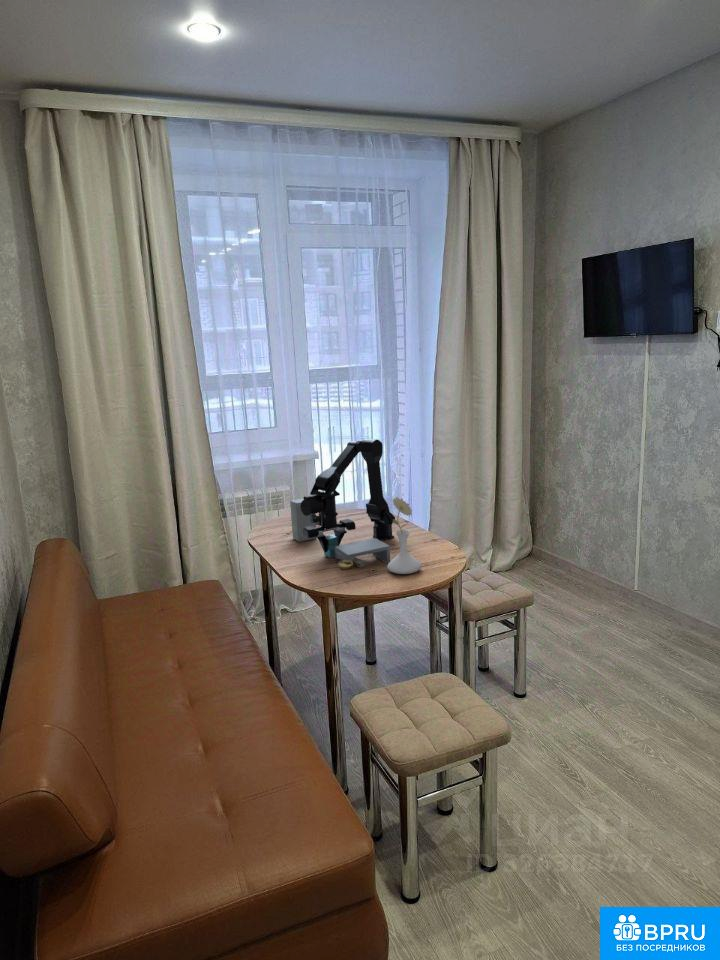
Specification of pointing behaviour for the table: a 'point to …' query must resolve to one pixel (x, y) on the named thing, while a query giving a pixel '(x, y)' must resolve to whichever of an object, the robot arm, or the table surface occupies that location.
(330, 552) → the blade tool
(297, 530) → the skincare box
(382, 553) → the shelf
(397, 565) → the flower in vase
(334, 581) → the table surface
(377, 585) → the table surface
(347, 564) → the token
